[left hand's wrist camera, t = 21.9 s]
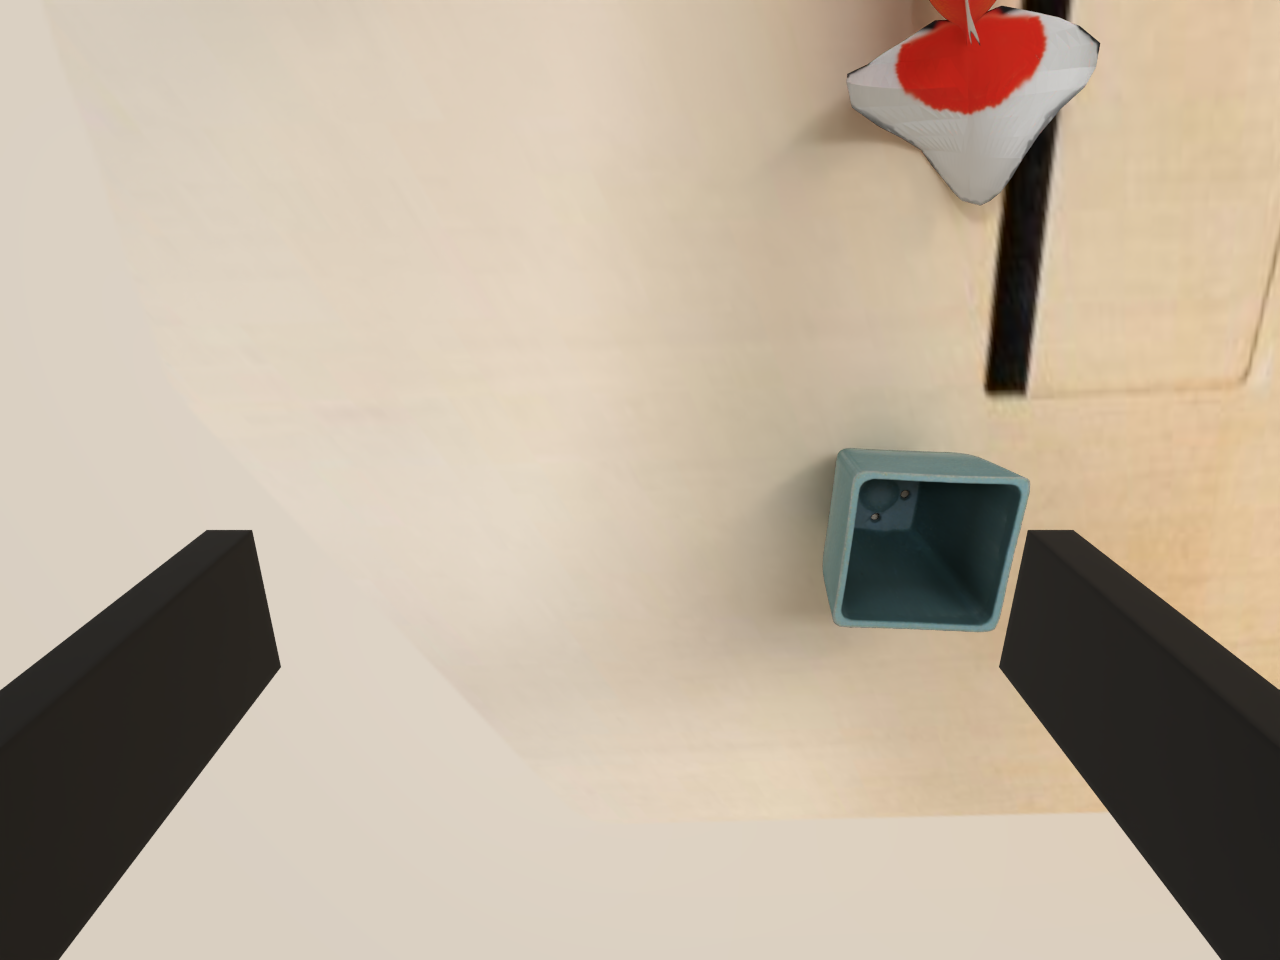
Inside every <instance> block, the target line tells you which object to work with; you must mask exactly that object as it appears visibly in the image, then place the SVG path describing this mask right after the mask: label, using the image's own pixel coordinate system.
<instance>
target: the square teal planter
mask: <svg viewBox="0 0 1280 960" xmlns="http://www.w3.org/2000/svg"><path fill="white" fill-rule="evenodd" d="M904 490H907V491H909V495H908V496H907V497H906V498H903V497H901V492H902V491H904ZM1029 492H1030V481H1029V480H1028V479H1027V478H1025V477H1022V476H1020V475H1018V474H1016V473H1014V472H1011V471H1009V470H1007V469H1005V468H1002V467H1000V466H998V465H996V464H993V463H991V462H989V461H986V460H984V459H982V458H979V457H976V456H972V455H968V454H962V453H950V452H921V451H894V450H870V449H855V448H848V449H843V450H841V451H840V452H839V453H838V456H837V460H836V468H835V476H834V484H833V491H832V499H831V506H830V513H829V520H828V527H827V534H826V541H825V547H824V554H823V575H824V581H825V586H826V591H827V596H828V600H829V605H830V609H831V613H832V617H833V621H834V623H835V624H836V625H838V626H843V627H861V628H893V629H921V630H943V631H965V632H987V631H992V630H993V629H995V627H996V625H997V623H998V621H999V619H1000V615H1001V610H1002V605H1003V602H1004V596H1005V592H1006V586H1007V582H1008V578H1009V572H1010V569H1011V564H1012V561H1013V555H1014V552H1015V548H1016V544H1017V539H1018V536H1019V533H1020V529H1021V525H1022V520H1023V516H1024V512H1025V509H1026V504H1027V500H1028V496H1029ZM876 513H878V514H879V518H878V519H876V520H872V519H871V516H872V515H873V514H876Z"/></svg>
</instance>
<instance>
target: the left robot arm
mask: <svg viewBox="0 0 1280 960" xmlns="http://www.w3.org/2000/svg"><path fill="white" fill-rule="evenodd" d="M280 668H281V665H280V660H279V656H278V651H277V646H276V642H275V637H274V632H273V627H272V623H271V618H270V613H269V608H268V603H267V599H266V594H265V589H264V584H263V580H262V575H261V570H260V566H259V561H258V556H257V551H256V547H255V542H254V537H253V532H252V530H206V531H205V532H204V533H203V534H201V535H200V536H199V537H197V538H196V539H195V540H193V541H192V542H191V543H190V544H188V545H187V546H186V547H184V548H183V549H182V550H181V551H179V552H178V553H177V554H175V555H174V556H173V557H172V558H170V559H169V560H168V561H166V562H165V563H164V564H162V565H161V566H160V567H159V568H157V569H156V570H155V571H153V572H152V573H151V574H150V575H148V576H147V577H146V578H144V579H143V580H142V581H141V582H139V583H138V584H137V585H135V586H134V587H133V588H132V589H130V590H129V591H128V592H127V593H125V594H124V595H123V596H121V597H120V598H119V599H117V600H116V601H115V602H114V603H112V604H111V605H110V606H108V607H107V608H106V609H105V610H103V611H102V612H101V613H99V614H98V615H97V616H95V617H94V618H93V619H92V620H90V621H89V622H88V623H86V624H85V625H84V626H83V627H81V628H80V629H79V630H78V631H76V632H75V633H74V634H72V635H71V636H70V637H68V638H67V639H66V640H65V641H63V642H62V643H61V644H59V645H58V646H57V647H56V648H54V649H53V650H52V651H50V652H49V653H48V654H47V655H45V656H44V657H43V658H41V659H40V660H39V661H37V662H36V663H35V664H34V665H32V666H31V667H30V668H29V669H27V670H26V671H25V672H23V673H22V674H21V675H20V676H18V677H17V678H16V679H14V680H13V681H12V682H10V683H9V684H8V685H7V686H5V687H4V688H3V689H1V690H0V960H59V959H60V957H61V956H62V955H63V953H64V952H65V951H66V949H67V948H68V947H69V945H70V944H71V943H72V941H73V940H74V939H75V937H76V936H77V935H78V934H79V932H80V931H81V930H82V928H83V927H84V926H85V924H86V923H87V922H88V920H89V919H90V918H91V916H92V915H93V914H94V912H95V911H96V910H97V908H98V907H99V906H100V905H101V903H102V902H103V901H104V899H105V898H106V897H107V895H108V894H109V893H110V891H111V890H112V889H113V888H114V886H115V885H116V884H117V882H118V881H119V880H120V878H121V877H122V876H123V874H124V873H125V872H126V870H127V869H128V868H129V866H130V865H131V864H132V862H133V861H134V860H135V859H136V857H137V856H138V855H139V853H140V852H141V851H142V849H143V848H144V847H145V845H146V844H147V843H148V841H149V840H150V839H151V837H152V836H153V835H154V833H155V832H156V831H157V829H158V828H159V827H160V826H161V824H162V823H163V822H164V820H165V819H166V818H167V816H168V815H169V814H170V812H171V811H172V810H173V808H174V807H175V806H176V805H177V803H178V802H179V801H180V799H181V798H182V797H183V795H184V794H185V793H186V791H187V790H188V789H189V787H190V786H191V785H192V783H193V782H194V781H195V779H196V778H197V777H198V776H199V774H200V773H201V772H202V770H203V769H204V768H205V766H206V765H207V764H208V762H209V761H210V760H211V758H212V757H213V756H214V754H215V753H216V752H217V750H218V749H219V748H220V747H221V745H222V744H223V743H224V741H225V740H226V739H227V737H228V736H229V735H230V733H231V732H232V731H233V729H234V728H235V727H236V725H237V724H238V723H239V722H240V720H241V719H242V718H243V716H244V715H245V714H246V712H247V711H248V710H249V708H250V707H251V706H252V704H253V703H254V702H255V700H256V699H257V698H258V697H259V695H260V694H261V693H262V691H263V690H264V689H265V687H266V686H267V685H268V683H269V682H270V681H271V679H272V678H273V677H274V675H275V674H276V673H277V671H278V670H279V669H280ZM999 668H1000V669H1001V670H1002V671H1003V673H1004V674H1005V675H1006V677H1007V678H1008V679H1009V681H1010V682H1011V683H1012V685H1013V686H1014V687H1015V689H1016V690H1017V691H1018V693H1019V694H1020V695H1021V697H1022V698H1023V699H1024V700H1025V702H1026V703H1027V704H1028V706H1029V707H1030V708H1031V710H1032V711H1033V712H1034V714H1035V715H1036V716H1037V718H1038V719H1039V720H1040V722H1041V723H1042V724H1043V725H1044V727H1045V728H1046V729H1047V731H1048V732H1049V733H1050V735H1051V736H1052V737H1053V739H1054V740H1055V741H1056V743H1057V744H1058V745H1059V747H1060V748H1061V749H1062V751H1063V752H1064V753H1065V754H1066V756H1067V757H1068V758H1069V760H1070V761H1071V762H1072V764H1073V765H1074V766H1075V768H1076V769H1077V770H1078V772H1079V773H1080V774H1081V776H1082V777H1083V778H1084V779H1085V781H1086V782H1087V783H1088V785H1089V786H1090V787H1091V789H1092V790H1093V791H1094V793H1095V794H1096V795H1097V797H1098V798H1099V799H1100V801H1101V802H1102V803H1103V805H1104V806H1105V807H1106V808H1107V810H1108V811H1109V812H1110V814H1111V815H1112V816H1113V818H1114V819H1115V820H1116V822H1117V823H1118V824H1119V826H1120V827H1121V828H1122V830H1123V831H1124V832H1125V833H1126V835H1127V836H1128V837H1129V839H1130V840H1131V841H1132V843H1133V844H1134V845H1135V847H1136V848H1137V849H1138V851H1139V852H1140V853H1141V855H1142V856H1143V857H1144V859H1145V860H1146V861H1147V862H1148V864H1149V865H1150V866H1151V868H1152V869H1153V870H1154V872H1155V873H1156V874H1157V876H1158V877H1159V878H1160V880H1161V881H1162V882H1163V883H1164V885H1165V886H1166V887H1167V889H1168V890H1169V891H1170V893H1171V894H1172V895H1173V897H1174V898H1175V899H1176V901H1177V902H1178V903H1179V905H1180V906H1181V907H1182V909H1183V910H1184V911H1185V913H1186V914H1187V915H1188V916H1189V918H1190V919H1191V920H1192V922H1193V923H1194V924H1195V926H1196V927H1197V928H1198V930H1199V931H1200V932H1201V934H1202V935H1203V936H1204V937H1205V939H1206V940H1207V941H1208V943H1209V944H1210V945H1211V947H1212V948H1213V949H1214V951H1215V952H1216V953H1217V955H1218V956H1219V957H1220V959H1221V960H1280V690H1279V689H1277V688H1276V687H1275V686H1273V685H1272V684H1271V683H1270V682H1268V681H1267V680H1266V679H1264V678H1263V677H1262V676H1261V675H1259V674H1258V673H1257V672H1255V671H1254V670H1253V669H1252V668H1250V667H1249V666H1248V665H1246V664H1245V663H1244V662H1243V661H1241V660H1240V659H1239V658H1237V657H1236V656H1235V655H1234V654H1232V653H1231V652H1230V651H1228V650H1227V649H1226V648H1224V647H1223V646H1222V645H1221V644H1219V643H1218V642H1217V641H1215V640H1214V639H1213V638H1212V637H1210V636H1209V635H1208V634H1206V633H1205V632H1204V631H1203V630H1201V629H1200V628H1199V627H1197V626H1196V625H1195V624H1194V623H1192V622H1191V621H1190V620H1188V619H1187V618H1186V617H1185V616H1183V615H1182V614H1181V613H1179V612H1178V611H1177V610H1176V609H1174V608H1173V607H1172V606H1170V605H1169V604H1168V603H1166V602H1165V601H1164V600H1163V599H1161V598H1160V597H1159V596H1157V595H1156V594H1155V593H1154V592H1152V591H1151V590H1150V589H1148V588H1147V587H1146V586H1145V585H1143V584H1142V583H1141V582H1139V581H1138V580H1137V579H1136V578H1134V577H1133V576H1132V575H1130V574H1129V573H1128V572H1127V571H1125V570H1124V569H1123V568H1121V567H1120V566H1119V565H1118V564H1116V563H1115V562H1114V561H1112V560H1111V559H1110V558H1108V557H1107V556H1106V555H1105V554H1103V553H1102V552H1101V551H1099V550H1098V549H1097V548H1096V547H1094V546H1093V545H1092V544H1090V543H1089V542H1088V541H1087V540H1085V539H1084V538H1083V537H1081V536H1080V535H1079V534H1078V533H1076V532H1075V531H1074V530H1028V532H1027V537H1026V542H1025V546H1024V551H1023V556H1022V561H1021V565H1020V570H1019V575H1018V580H1017V584H1016V589H1015V594H1014V599H1013V603H1012V608H1011V613H1010V618H1009V622H1008V627H1007V632H1006V637H1005V641H1004V646H1003V651H1002V656H1001V660H1000V665H999Z"/></svg>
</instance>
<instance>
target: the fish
mask: <svg viewBox="0 0 1280 960" xmlns="http://www.w3.org/2000/svg"><path fill="white" fill-rule="evenodd" d="M929 1H930V2H931V4H932V5H933V6H934V7H935V9H936V10H937V11H938V12H939V13H940V14H941V15H942V16H943V17H945V18H946V19H947V20H935V21H933V22H932V23H930V24H929V25H927V26H926V27H924V28H923V29H921V30H919V31H918V32H916V33H915V34H913V35H912V36H910V37H909V38H907V39H906V40H904V41H903V42H901V43H900V44H898V45H896V46H894V47H893V48H891V49H889V50H888V51H886V52H884V53H883V54H882V55H880V56H879V57H877V58H876V59H875V60H873V61H872V62H870V63H869V64H868V65H866V66H863V67H861V68H859V69H857V70H855V71H853V72H851V73H848V74H847V87H848V91H849V96H850V101H851V105H852V108H853V109H855V110H856V111H858V112H859V113H860V114H862V115H863V116H865V117H866V118H868V119H869V120H870V121H872V122H873V123H875V124H876V125H878V126H879V127H881V128H883V129H885V130H887V131H889V132H891V133H893V134H895V135H897V136H899V137H901V138H902V139H904V140H906V141H907V142H909V143H910V144H912V145H914V146H915V147H917V148H919V149H920V150H922V152H923V153H924V155H925V156H926V157H927V159H928V160H929V162H930V163H931V165H932V166H933V167H934V168H935V170H936V171H937V172H938V173H939V175H940V176H941V177H942V178H943V179H944V181H945V182H946V183H947V185H948V186H949V187H950V189H951V190H952V191H953V192H954V193H955V194H956V195H957V196H958V197H959V198H960V199H961V200H962V201H965V202H969V203H973V204H977V205H983V204H985V203H987V202H989V201H990V200H992V199H993V198H994V197H995V196H996V195H998V194H999V193H1000V192H1001V191H1002V190H1003V188H1004V187H1005V186H1006V184H1007V183H1008V182H1009V180H1010V179H1011V178H1012V176H1013V174H1014V172H1015V171H1016V169H1017V167H1018V166H1019V164H1020V162H1021V160H1022V159H1023V157H1024V156H1025V154H1026V153H1027V151H1028V150H1029V148H1030V147H1031V145H1032V144H1033V143H1034V141H1035V140H1036V138H1037V137H1038V135H1039V134H1040V133H1041V132H1042V130H1043V129H1044V128H1045V127H1046V126H1047V124H1048V123H1049V122H1050V121H1051V120H1052V118H1053V117H1054V116H1055V115H1056V114H1057V113H1058V111H1059V110H1060V109H1061V108H1062V107H1063V106H1064V105H1065V104H1066V103H1068V102H1069V101H1070V100H1071V99H1072V98H1073V97H1074V96H1075V95H1076V94H1077V93H1079V92H1080V91H1081V90H1082V89H1083V88H1084V87H1085V85H1086V84H1087V82H1088V80H1089V78H1090V77H1091V75H1092V73H1093V71H1094V69H1095V68H1096V63H1097V58H1098V52H1099V47H1100V43H1099V42H1098V41H1097V40H1096V39H1095V38H1093V37H1092V36H1091V35H1090V34H1089V33H1087V32H1086V31H1085V30H1084V29H1083V28H1081V27H1080V26H1078V25H1076V24H1073V23H1071V22H1068V21H1066V20H1063V19H1061V18H1058V17H1054V16H1049V15H1045V14H1041V13H1036V12H1031V11H1026V10H1021V9H1016V8H1011V7H1005V6H1000V7H997V8H995V9H992V10H990V11H988V10H989V9H990V8H991V6H992V5H993V4H994V3H995V1H996V0H929Z"/></svg>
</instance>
